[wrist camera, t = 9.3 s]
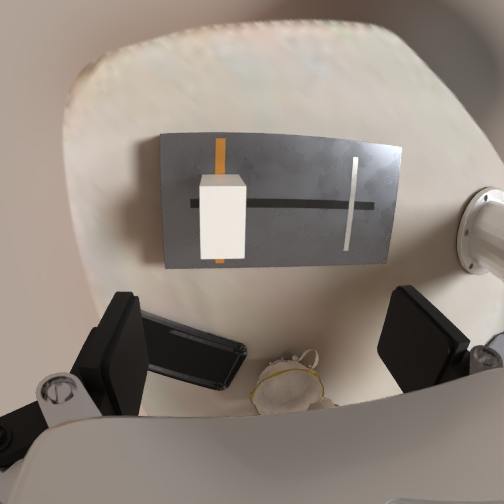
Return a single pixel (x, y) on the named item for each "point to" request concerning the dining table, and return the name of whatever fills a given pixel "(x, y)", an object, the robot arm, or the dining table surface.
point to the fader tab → (222, 216)
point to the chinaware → (289, 387)
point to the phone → (191, 353)
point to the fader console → (283, 198)
